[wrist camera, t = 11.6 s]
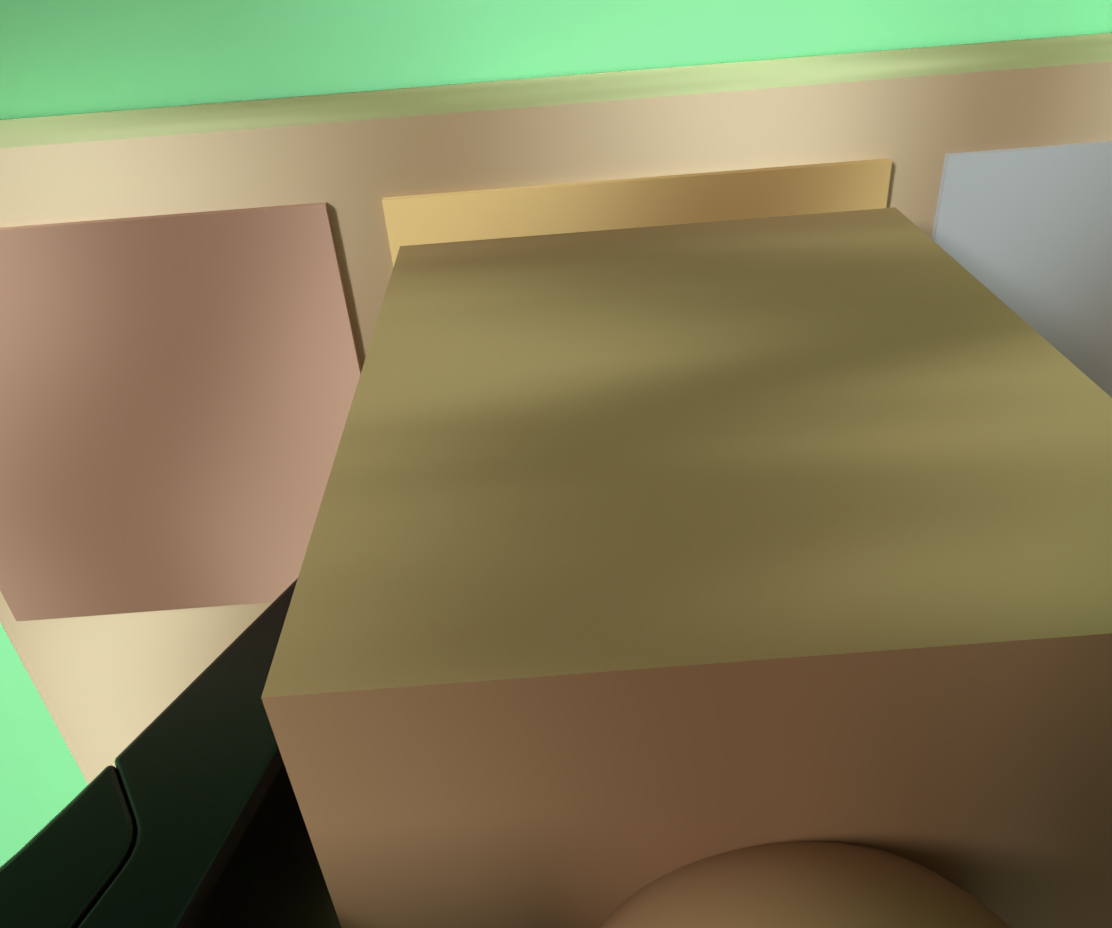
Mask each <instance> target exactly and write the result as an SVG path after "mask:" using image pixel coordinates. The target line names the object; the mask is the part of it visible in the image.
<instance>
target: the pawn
mask: <svg viewBox="0 0 1112 928" xmlns="http://www.w3.org/2000/svg"><path fill="white" fill-rule="evenodd" d="M261 699H262V702H263V704H264V707H265V710H266V713H267V716H268V719H269V722H270V725H271V727H272V730H273V733H274V736H275V739H276V742H277V745H278V747H279V750H280V753H281V756H282V759H283V762H284V765H285V767H286V770H287V773H288V776H289V779H290V782H291V785H292V788H293V790H294V793H295V796H296V799H297V802H298V805H299V808H300V810H301V813H302V816H303V819H304V822H305V825H306V828H307V830H308V833H309V836H310V839H311V842H312V845H313V848H314V851H315V853H316V856H317V859H318V862H319V865H320V868H321V871H322V873H323V876H324V879H325V882H326V885H327V888H328V891H329V893H330V896H331V899H332V902H333V905H334V908H335V911H336V914H337V916H338V919H339V922H340V925H341V928H1112V398H1111V397H1110V396H1109V395H1108V394H1107V393H1106V392H1104V391H1103V390H1102V389H1101V388H1100V387H1099V386H1098V385H1096V384H1095V383H1094V382H1093V381H1092V380H1091V379H1090V378H1089V377H1087V376H1086V375H1085V374H1084V373H1083V372H1082V371H1081V370H1079V369H1078V368H1077V367H1076V366H1075V365H1074V364H1073V363H1072V362H1070V361H1069V360H1068V359H1067V358H1066V357H1065V356H1064V355H1062V354H1061V353H1060V352H1059V351H1058V350H1057V349H1056V348H1055V347H1053V346H1052V345H1051V344H1050V343H1049V342H1048V341H1047V340H1045V339H1044V338H1043V337H1042V336H1041V335H1040V334H1039V333H1037V332H1036V331H1035V330H1034V329H1033V328H1032V327H1031V326H1030V325H1028V324H1027V323H1026V322H1025V321H1024V320H1023V319H1022V318H1020V317H1019V316H1018V315H1017V314H1016V313H1015V312H1014V311H1013V310H1011V309H1010V308H1009V307H1008V306H1007V305H1006V304H1005V303H1003V302H1002V301H1001V300H1000V299H999V298H998V297H997V296H996V295H994V294H993V293H992V292H991V291H990V290H989V289H988V288H986V287H985V286H984V285H983V284H982V283H981V282H980V281H979V280H977V279H976V278H975V277H974V276H973V275H972V274H971V273H969V272H968V271H967V270H966V269H965V268H964V267H963V266H961V265H960V264H959V263H958V262H957V261H956V260H955V259H954V258H952V257H951V256H950V255H949V254H948V253H947V252H946V251H944V250H943V249H942V248H941V247H940V246H939V245H938V244H937V243H935V242H934V241H933V240H932V239H931V238H930V237H929V236H927V235H926V234H925V233H924V232H923V231H922V230H921V229H920V228H918V227H917V226H916V225H915V224H914V223H913V222H912V221H910V220H909V219H908V218H907V217H906V216H905V215H904V214H902V213H901V212H900V211H899V210H898V209H897V208H896V207H895V208H882V209H869V210H856V211H844V212H831V213H818V214H805V215H792V216H780V217H767V218H754V219H741V220H728V221H715V222H703V223H690V224H677V225H664V226H652V227H639V228H626V229H613V230H600V231H588V232H575V233H562V234H549V235H536V236H524V237H511V238H498V239H485V240H472V241H459V242H447V243H434V244H421V245H408V246H400V248H399V251H398V254H397V258H396V261H395V264H394V267H393V271H392V274H391V277H390V280H389V284H388V287H387V290H386V293H385V297H384V300H383V303H382V306H381V310H380V313H379V316H378V319H377V323H376V326H375V329H374V332H373V336H372V339H371V342H370V345H369V349H368V352H367V355H366V358H365V362H364V365H363V368H362V371H361V375H360V378H359V381H358V384H357V388H356V391H355V394H354V397H353V401H352V404H351V407H350V410H349V414H348V417H347V420H346V423H345V427H344V430H343V433H342V436H341V440H340V443H339V446H338V449H337V453H336V456H335V459H334V462H333V466H332V469H331V472H330V475H329V479H328V482H327V485H326V488H325V492H324V495H323V498H322V501H321V505H320V508H319V511H318V514H317V518H316V521H315V524H314V527H313V531H312V534H311V537H310V541H309V544H308V547H307V550H306V554H305V557H304V560H303V563H302V567H301V570H300V573H299V576H298V580H297V583H296V586H295V589H294V593H293V596H292V599H291V602H290V606H289V609H288V612H287V615H286V619H285V622H284V625H283V628H282V632H281V635H280V638H279V641H278V645H277V648H276V651H275V654H274V658H273V661H272V664H271V667H270V671H269V674H268V677H267V680H266V684H265V687H264V690H263V693H262V697H261Z"/></svg>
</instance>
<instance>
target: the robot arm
mask: <svg viewBox="0 0 1112 928" xmlns="http://www.w3.org/2000/svg"><path fill="white" fill-rule="evenodd" d="M297 580H298V578H297V579H296V580H295V581H294V582H293V583H292V584H291V585H290V586H289V587H288V588H287V589H286V590H285V591H284V592H283V593H282V594H281V595H280V596H279V597H278V598H277V599H276V600H275V601H274V602H273V603H272V604H271V605H270V606H269V607H268V608H267V609H266V610H265V611H264V612H263V613H262V614H261V615H260V616H259V617H258V618H257V619H256V620H255V621H254V622H253V623H251V624H250V625H249V626H248V627H247V628H246V629H245V630H244V631H243V632H242V633H241V634H240V635H239V636H238V637H237V638H236V639H235V640H234V641H233V642H232V643H231V644H230V645H229V646H228V647H227V648H226V649H225V650H224V651H223V652H222V653H221V654H220V655H219V656H218V657H217V658H216V659H215V660H214V661H213V662H212V663H211V664H210V665H209V666H208V667H207V668H206V669H205V670H204V671H203V672H202V673H201V674H200V675H199V676H198V677H197V678H196V679H195V680H194V681H193V682H192V683H191V684H190V685H189V686H188V687H187V688H186V689H185V690H184V691H183V692H182V693H181V694H180V695H179V696H178V697H177V698H176V699H175V700H174V701H173V702H172V703H171V704H170V705H169V706H168V707H167V708H166V709H165V710H164V711H163V712H162V713H161V714H160V715H159V716H158V717H157V718H156V719H155V720H154V721H153V722H152V723H151V724H150V725H149V726H148V727H147V728H145V729H144V730H143V731H142V732H141V733H140V734H139V735H138V736H137V737H136V738H135V739H134V740H133V741H132V742H131V743H130V744H129V745H128V746H127V747H126V748H125V749H124V750H123V751H122V752H121V753H120V754H119V755H118V756H117V757H116V759H115V766H116V768H115V766H112V765H110V766H107V767H106V768H105V769H104V770H103V771H102V772H101V773H100V774H99V775H98V776H97V777H96V778H95V779H94V780H93V781H92V782H91V783H90V784H88V785H87V786H86V787H85V788H84V789H83V790H82V791H81V792H80V793H79V794H78V795H77V796H76V797H75V798H74V799H73V800H72V801H71V802H70V803H69V804H68V805H67V806H66V807H65V808H64V809H63V810H62V811H61V812H60V813H59V814H58V815H56V816H55V817H54V818H53V819H52V820H51V821H50V822H49V823H48V824H47V825H46V826H45V827H44V828H43V829H42V830H41V831H40V832H39V833H37V834H36V835H35V836H34V837H33V838H32V839H31V840H30V841H29V842H28V843H27V844H26V845H25V846H24V847H23V848H22V849H21V850H20V851H18V852H17V853H16V854H15V855H14V856H13V857H12V858H11V859H9V860H8V861H7V862H6V863H5V864H4V865H3V866H1V867H0V928H341V925H340V922H339V919H338V916H337V914H336V911H335V908H334V905H333V902H332V899H331V896H330V893H329V891H328V888H327V885H326V882H325V879H324V876H323V873H322V871H321V868H320V865H319V862H318V859H317V856H316V853H315V851H314V848H313V845H312V842H311V839H310V836H309V833H308V830H307V828H306V825H305V822H304V819H303V816H302V813H301V810H300V808H299V805H298V802H297V799H296V796H295V793H294V790H293V788H292V785H291V782H290V779H289V776H288V773H287V770H286V767H285V765H284V762H283V759H282V756H281V753H280V750H279V747H278V745H277V742H276V739H275V736H274V733H273V730H272V727H271V725H270V722H269V719H268V716H267V713H266V710H265V707H264V704H263V702H262V699H261V697H262V693H263V690H264V687H265V684H266V680H267V677H268V674H269V671H270V667H271V664H272V661H273V658H274V654H275V651H276V648H277V645H278V641H279V638H280V635H281V632H282V628H283V625H284V622H285V619H286V615H287V612H288V609H289V606H290V602H291V599H292V596H293V593H294V589H295V586H296V583H297Z"/></svg>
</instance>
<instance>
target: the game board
mask: <svg viewBox="0 0 1112 928" xmlns="http://www.w3.org/2000/svg"><path fill="white" fill-rule="evenodd" d="M895 207H896V208H897V209H898V210H899V211H900V212H901V213H902V214H904V215H905V216H906V217H907V218H908V219H909V220H910V221H912V222H913V223H914V224H915V225H916V226H917V227H918V228H920V229H921V230H922V231H923V232H924V233H925V234H926V235H927V236H929V237H930V238H931V239H932V240H933V241H934V242H935V243H937V244H938V245H939V246H940V247H941V248H942V249H943V250H944V251H946V252H947V253H948V254H949V255H950V256H951V257H952V258H954V259H955V260H956V261H957V262H958V263H959V264H960V265H961V266H963V267H964V268H965V269H966V270H967V271H968V272H969V273H971V274H972V275H973V276H974V277H975V278H976V279H977V280H979V281H980V282H981V283H982V284H983V285H984V286H985V287H986V288H988V289H989V290H990V291H991V292H992V293H993V294H994V295H996V296H997V297H998V298H999V299H1000V300H1001V301H1002V302H1003V303H1005V304H1006V305H1007V306H1008V307H1009V308H1010V309H1011V310H1013V311H1014V312H1015V313H1016V314H1017V315H1018V316H1019V317H1020V318H1022V319H1023V320H1024V321H1025V322H1026V323H1027V324H1028V325H1030V326H1031V327H1032V328H1033V329H1034V330H1035V331H1036V332H1037V333H1039V334H1040V335H1041V336H1042V337H1043V338H1044V339H1045V340H1047V341H1048V342H1049V343H1050V344H1051V345H1052V346H1053V347H1055V348H1056V349H1057V350H1058V351H1059V352H1060V353H1061V354H1062V355H1064V356H1065V357H1066V358H1067V359H1068V360H1069V361H1070V362H1072V363H1073V364H1074V365H1075V366H1076V367H1077V368H1078V369H1079V370H1081V371H1082V372H1083V373H1084V374H1085V375H1086V376H1087V377H1089V378H1090V379H1091V380H1092V381H1093V382H1094V383H1095V384H1096V385H1098V386H1099V387H1100V388H1101V389H1102V390H1103V391H1104V392H1106V393H1107V394H1108V395H1109V396H1110V397H1111V398H1112V33H1102V34H1090V35H1077V36H1064V37H1051V38H1039V39H1026V40H1013V41H1001V42H988V43H975V44H962V45H950V46H937V47H924V48H911V49H899V50H886V51H873V52H860V53H848V54H835V55H822V56H810V57H797V58H784V59H771V60H759V61H746V62H733V63H720V64H708V65H695V66H682V67H669V68H657V69H644V70H631V71H619V72H606V73H593V74H580V75H568V76H555V77H542V78H529V79H517V80H504V81H491V82H478V83H466V84H453V85H440V86H428V87H415V88H402V89H389V90H377V91H364V92H351V93H338V94H326V95H313V96H300V97H287V98H275V99H262V100H249V101H237V102H224V103H211V104H198V105H186V106H173V107H160V108H147V109H135V110H122V111H109V112H96V113H84V114H71V115H58V116H46V117H33V118H20V119H7V120H0V622H1V624H2V626H3V628H4V630H5V631H6V633H7V635H8V637H9V639H10V641H11V643H12V644H13V646H14V648H15V650H16V652H17V654H18V655H19V657H20V659H21V661H22V663H23V665H24V667H25V668H26V670H27V672H28V674H29V676H30V678H31V680H32V681H33V683H34V685H35V687H36V689H37V691H38V692H39V694H40V696H41V698H42V700H43V702H44V704H45V705H46V707H47V709H48V711H49V713H50V715H51V717H52V718H53V720H54V722H55V724H56V726H57V728H58V729H59V731H60V733H61V735H62V737H63V739H64V741H65V742H66V744H67V746H68V748H69V750H70V752H71V754H72V755H73V757H74V759H75V761H76V763H77V765H78V766H79V768H80V770H81V772H82V774H83V776H84V778H85V779H86V781H87V783H88V784H90V783H91V782H92V781H93V780H94V779H95V778H96V777H97V776H98V775H99V774H100V773H101V772H102V771H103V770H104V769H105V768H106V767H107V766H110V765H112V766H115V759H116V757H117V756H118V755H119V754H120V753H121V752H122V751H123V750H124V749H125V748H126V747H127V746H128V745H129V744H130V743H131V742H132V741H133V740H134V739H135V738H136V737H137V736H138V735H139V734H140V733H141V732H142V731H143V730H144V729H145V728H147V727H148V726H149V725H150V724H151V723H152V722H153V721H154V720H155V719H156V718H157V717H158V716H159V715H160V714H161V713H162V712H163V711H164V710H165V709H166V708H167V707H168V706H169V705H170V704H171V703H172V702H173V701H174V700H175V699H176V698H177V697H178V696H179V695H180V694H181V693H182V692H183V691H184V690H185V689H186V688H187V687H188V686H189V685H190V684H191V683H192V682H193V681H194V680H195V679H196V678H197V677H198V676H199V675H200V674H201V673H202V672H203V671H204V670H205V669H206V668H207V667H208V666H209V665H210V664H211V663H212V662H213V661H214V660H215V659H216V658H217V657H218V656H219V655H220V654H221V653H222V652H223V651H224V650H225V649H226V648H227V647H228V646H229V645H230V644H231V643H232V642H233V641H234V640H235V639H236V638H237V637H238V636H239V635H240V634H241V633H242V632H243V631H244V630H245V629H246V628H247V627H248V626H249V625H250V624H251V623H253V622H254V621H255V620H256V619H257V618H258V617H259V616H260V615H261V614H262V613H263V612H264V611H265V610H266V609H267V608H268V607H269V606H270V605H271V604H272V603H273V602H274V601H275V600H276V599H277V598H278V597H279V596H280V595H281V594H282V593H283V592H284V591H285V590H286V589H287V588H288V587H289V586H290V585H291V584H292V583H293V582H294V581H295V580H296V579H297V578H298V576H299V573H300V570H301V567H302V563H303V560H304V557H305V554H306V550H307V547H308V544H309V541H310V537H311V534H312V531H313V527H314V524H315V521H316V518H317V514H318V511H319V508H320V505H321V501H322V498H323V495H324V492H325V488H326V485H327V482H328V479H329V475H330V472H331V469H332V466H333V462H334V459H335V456H336V453H337V449H338V446H339V443H340V440H341V436H342V433H343V430H344V427H345V423H346V420H347V417H348V414H349V410H350V407H351V404H352V401H353V397H354V394H355V391H356V388H357V384H358V381H359V378H360V375H361V371H362V368H363V365H364V362H365V358H366V355H367V352H368V349H369V345H370V342H371V339H372V336H373V332H374V329H375V326H376V323H377V319H378V316H379V313H380V310H381V306H382V303H383V300H384V297H385V293H386V290H387V287H388V284H389V280H390V277H391V274H392V271H393V267H394V264H395V261H396V258H397V254H398V251H399V248H400V246H408V245H421V244H434V243H447V242H459V241H472V240H485V239H498V238H511V237H524V236H536V235H549V234H562V233H575V232H588V231H600V230H613V229H626V228H639V227H652V226H664V225H677V224H690V223H703V222H715V221H728V220H741V219H754V218H767V217H780V216H792V215H805V214H818V213H831V212H844V211H856V210H869V209H882V208H895ZM115 768H116V766H115Z"/></svg>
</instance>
